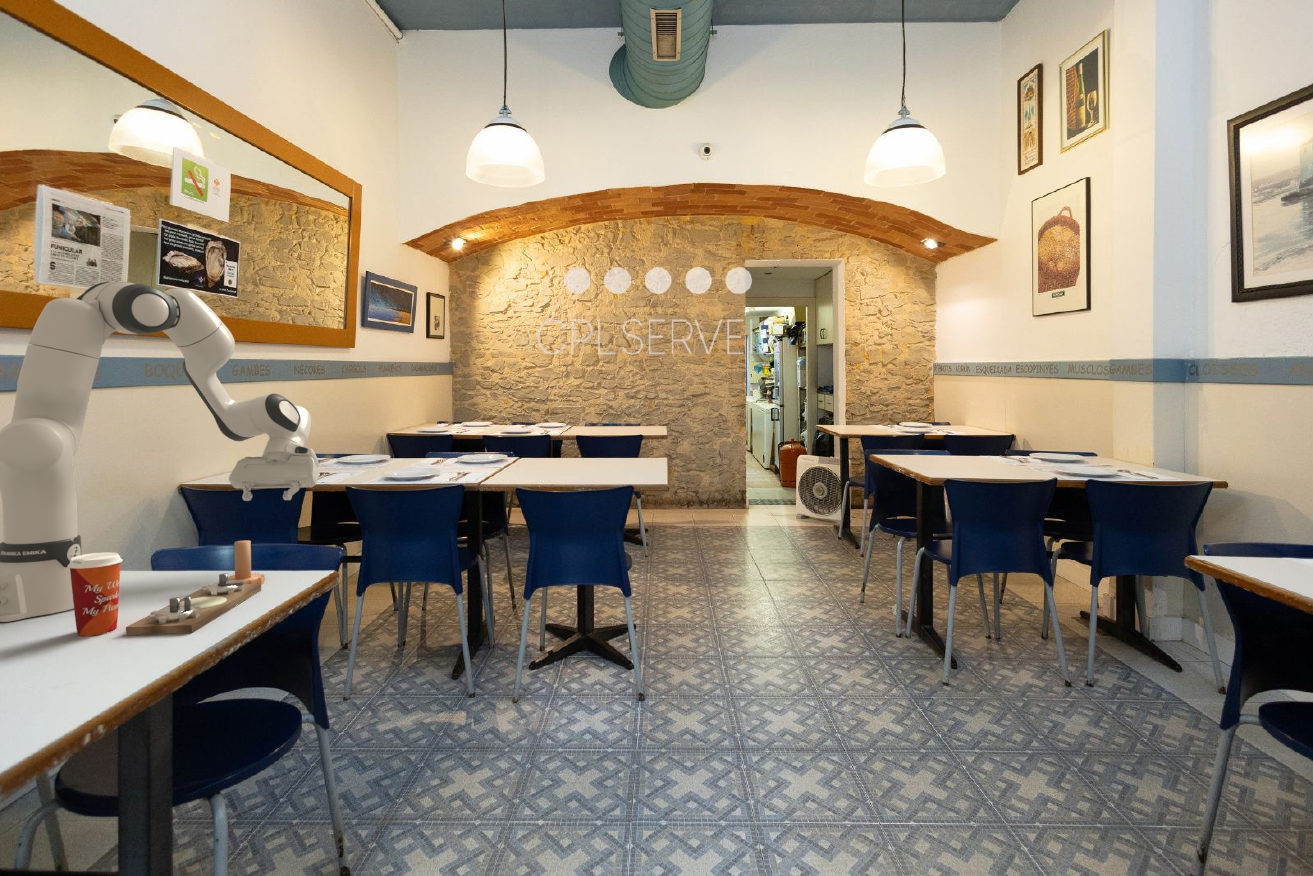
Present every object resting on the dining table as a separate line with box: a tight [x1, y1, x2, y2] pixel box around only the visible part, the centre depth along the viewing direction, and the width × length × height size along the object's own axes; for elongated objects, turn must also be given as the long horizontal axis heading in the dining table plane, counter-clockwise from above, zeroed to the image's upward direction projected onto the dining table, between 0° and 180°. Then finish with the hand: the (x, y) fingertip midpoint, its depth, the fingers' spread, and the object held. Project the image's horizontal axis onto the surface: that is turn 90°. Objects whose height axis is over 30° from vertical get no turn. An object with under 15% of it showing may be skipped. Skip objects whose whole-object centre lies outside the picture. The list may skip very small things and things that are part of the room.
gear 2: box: [201, 573, 245, 596], centre depth 141 cm, size 8×8×4 cm
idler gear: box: [228, 540, 265, 585], centre depth 152 cm, size 8×8×10 cm
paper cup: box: [67, 551, 123, 637], centre depth 120 cm, size 8×8×14 cm
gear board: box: [125, 584, 262, 636], centre depth 133 cm, size 11×28×2 cm, turn 8°
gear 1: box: [148, 596, 200, 624], centre depth 124 cm, size 8×8×4 cm
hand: (266, 499), depth 163 cm, fingers open, 8 cm apart
